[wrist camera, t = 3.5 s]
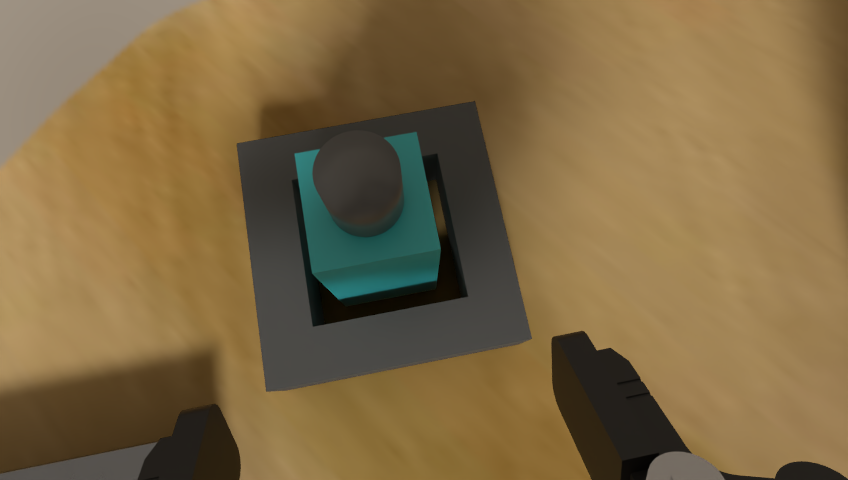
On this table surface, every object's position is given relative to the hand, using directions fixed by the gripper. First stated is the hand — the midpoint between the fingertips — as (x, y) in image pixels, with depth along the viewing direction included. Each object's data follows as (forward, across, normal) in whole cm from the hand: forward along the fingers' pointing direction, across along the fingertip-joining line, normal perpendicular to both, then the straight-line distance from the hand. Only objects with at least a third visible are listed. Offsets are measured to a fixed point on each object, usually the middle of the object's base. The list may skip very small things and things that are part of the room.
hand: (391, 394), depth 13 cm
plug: (+12, 0, +3) cm, 12 cm away
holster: (+12, 0, +3) cm, 12 cm away
